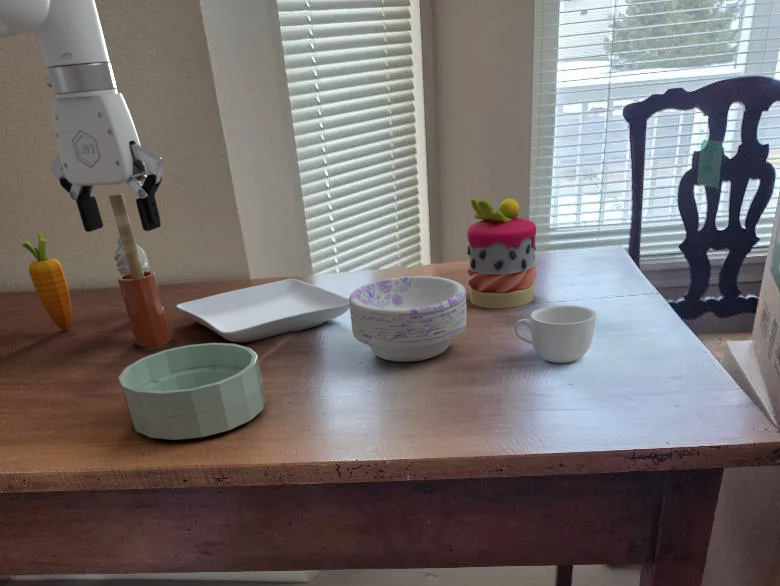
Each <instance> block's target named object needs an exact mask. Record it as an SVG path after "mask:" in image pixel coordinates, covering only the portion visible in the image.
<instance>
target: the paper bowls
mask: <svg viewBox="0 0 780 586" xmlns="http://www.w3.org/2000/svg"><path fill="white" fill-rule="evenodd" d="M466 295H467V290H466V288H465V286H464V285H463V284H461V283H460V282H458V281H456V280H453V279H449V278H445V277H441V276H431V275H429V276H428V275H411V276H410V275H409V276H400V277H399V276H397V277H391V278H385V279H381V280H377V281H373V282H369V283H367V284H364V285H362V286H360V287H358V288H356V289H354V290H353V291H352V292H351V294H350V295H349V298H348V299H349V307H350V308H349V314H350V322H351V323H350V324H351V325H350V326H351V331H352V335H353V337H354V339H356V340H357V341H358V342H360V343H362V344H364V345H368V346H369V348H370V350H371V351H372V352H373V353H374V354H375V356H377V357H379V358H380V359H383V360H385V361H391V362H397V363H398V362H399V363H402V362H403V363H411V362H419V361H420V362H421V361H424V360H429V359H432V358H434V357H437V356H440V355H441V354H442V353H444V352H445V351H446V350H447V349H448V348H449V346H450V345H451V343H452V340H453V338H455V337H456V336H458V335H460V334H461V333H462V332H463V331H464V330H466V327H467V321H468V320H467V297H466Z"/></svg>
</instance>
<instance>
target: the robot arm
mask: <svg viewBox="0 0 780 586" xmlns="http://www.w3.org/2000/svg"><path fill="white" fill-rule="evenodd" d="M98 12H99V11H98V9H97V4H96V1H95V0H0V39H5V38H11V37H13V36H16V35H21V34H28V33H34V34H36V37H37V41H38V44H39V48H40V51H41V55H42V58H43V62H44V65H45V68H46V71H47V75H45V77H44V81H45V83H46V85H47V86H48V87H49V88H52V92H53V95H54V98H52V99H51V98H50V111H51V119H52V125H53V131H54V132H53V133H54V137H55V142H56V146H57V150H58V154H59V155H58V156H57V157H55V159H54V160H53V161H52V162H51V163H50V164H49V168H50V170H51V171H52V172H53V174H54V176H55V178H56V179H57V180H58V181H59V184H60V186H61V187H62V188H63V189H64V190H65V191H66V192H67V193H68V194H69V198H70V199H72V201H75V202H76V206H77V209H78V212H79V215H80V218H81V223H82V226H83V229H84V231H85V232H86V233H91V232H94V231H96V230H99V229H102V228H103V227H104V223H103V220H102V216H101V212H100V209H99V205H98V202H97V199H96V197H95V196H94V195H92V191H93V188H94V186H111V185H112V186H114V185H122V184H125V183H126V184H127V185H128V186H129V187H130V188H131V189H132V191H133V192H134V193H135V194H136V195H137V196H138V198H136V199H135V204H136V207H137V212H138V215H139V219H140V222H141V226H142V230H143V231H145V232H150V231H153V230H155V229H158V228H161V226H162V223H161V218H160V213H159V208H158V204H157V200H156V196H157V194H158V192H159V190H158V189H159V187H160V186H161V184H162V181H163V178H162V177H163V176H162V175H163V169H164V159H163V158H162V157H160V156H159V155H157V154H156V153H153V152H152V151H150V150H148V149H146V148H145V147H143V146H141V142H140V139H139V136H138V132H137V129H136V127H135V123H134V120H133V117H132V115H131V113H130V110H129V108H128V105H127V103H126V100H125V98H124V96H123V94H122V92H118V88H117V85H116V80H115V77H114V72H113V69H112V64H111V62H110V61H111V60H110V57H109V53H108V48H107V44H106V40H105V37H104V33H103V29H102V24H101V21H100V17H99V13H98ZM146 165H147V167H146ZM147 169H148V174H147ZM91 195H92V196H91Z"/></svg>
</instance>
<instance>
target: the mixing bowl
mask: <svg viewBox="0 0 780 586" xmlns="http://www.w3.org/2000/svg"><path fill="white" fill-rule="evenodd" d="M117 379H118V381H119V385H120V388H121V391H122V394H123V398H124V401H125V404H126V408H127V410H128V415H129V417H130V420H131V423H132V426H133V428H134V430H135V432H136V433H139V434H141V435H143V436H146V437H147V438H151V439H160V440H161V439H162V440H171V441H177V440H179V441H180V440H187V439H189V440H190V439H199V438H205V437H209V436H212V435H217V434H220V433H224V432H228V431H231V430H233V429H235V428H237V427H240V426H241V425H244V424H246V423H248V422H250V421H252V420H253V419H254V418H256V416H258V415H259V414H260V413H261V412H262V411H263V410H264V409H265V405H266V401H267V400H266V399H267V397H266V391H265V386H264V381H263V377H262V370H261V365H260V362H259V355H258V354H257V353H256V352H255V351H254V350H253V349H252V348H251V347H249V346H248V347H247V346H244V345H240V344H237V343H229V342H228V343H225V342H208V343H206V342H205V343H198V344H188V345H182V346H179V347H173V348H169V349H165V350H161V351H157V352H155V353H153V354H149V355H147V356H144V357H142V358H140V359H138V360H136V361H134V362H133V363H131V364H129V365H127V366H126V367H125V368H124V369H123V371H122V372H121V373H120V374H119V376H118V378H117Z"/></svg>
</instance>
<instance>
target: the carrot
mask: <svg viewBox="0 0 780 586" xmlns="http://www.w3.org/2000/svg"><path fill="white" fill-rule="evenodd" d="M37 239H38V246H33V245H32V244H31V243H30V242H29V241H28V240H24V241H23V242H22V243H21V247H23V248H25V249H26V250H28V252H30V253H31V254H32V255H33V256H34V258H35V260H33V261H31V263H30V264H29V266H28V273H29V276H30V278H31V282H32V284H33V286H34V289H35V292H36V293H37V296H38V299H39V301H40V302H41V304H42V306H43V308H44V309H45V311H46V313H47V315H48V316H49V318H50V319H51V320H52V322H53V323H54V324H55V325H56V327H58V328H59V329H60V330H61V332H69V331H70V330H71V326H72V313H73V310H72V302H71V296H70V290H69V286H68V283H67V279H66V275H65V273H64V268H63V266H62V264H61V262H60V260H58V259H56V258H54V257H53V258H52V257H51V258H50V257H49V258H48V257H47V246H46V245H47V244H46V238H45V234H44V233H42V232H38V233H37Z"/></svg>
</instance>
